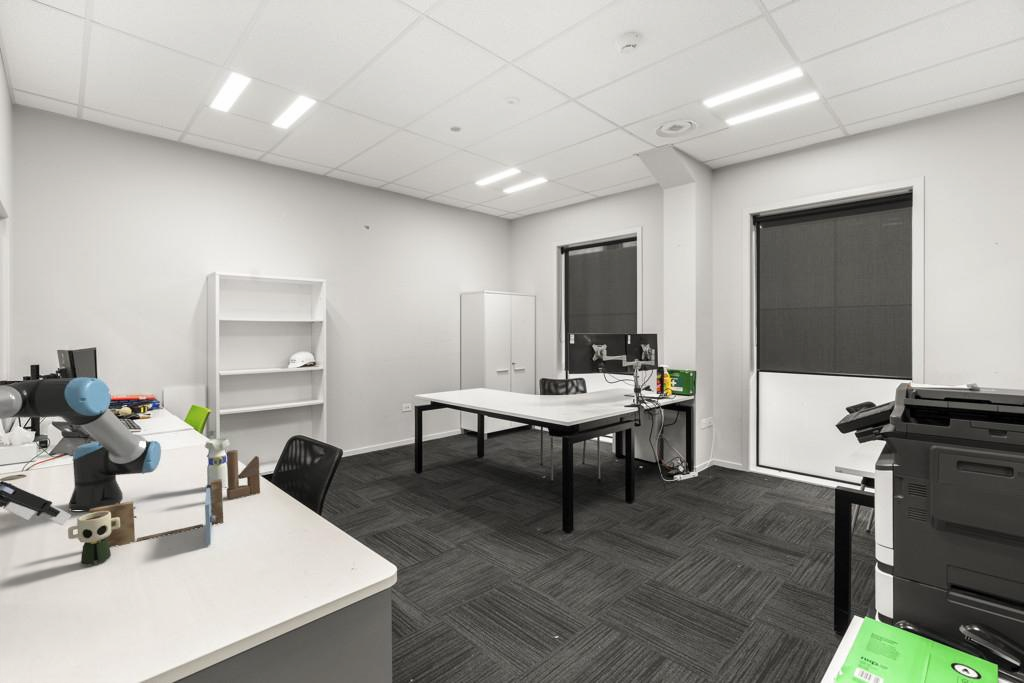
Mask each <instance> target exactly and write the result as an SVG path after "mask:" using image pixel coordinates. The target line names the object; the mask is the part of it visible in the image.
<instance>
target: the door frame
mask: <svg viewBox="0 0 1024 683" xmlns="http://www.w3.org/2000/svg"><path fill="white" fill-rule="evenodd" d="M205 487H206V489H207V488H210V495H211V516H214V515H215V522H212V526H214V524H215V525H219V524H218V523H220V524H223V523H224V504H223V503H224V500H223V489H222V480H221V479H219V480H213V481H211V485H207V484H206V485H205ZM206 489H205V490H206ZM134 506H135V505H134V501H133V500H132V501H127V502H126V501H125V502H120V504H118V503H117V504H114V505H109V506H103V507H98V508H92V509H90V510H89V511H88V514H89V513H94V512H100V511H109V512H111V518H116V517H119V518H120V528H118V529H114V530H112V532H111V534H110V535H109V536H108V537H106V539H107V540H108V543H109V547H110V548H112V547H111V546H114V547H117V546H116V545H119V546H122V545H121V544H123V545H127V544H126V543H128V544H131V543H130V542H133V543H135V541H136V542H137V541H138V542H142V541H141V540H143V541H147V540H151V539H150V538H152V539H155V538H154V537H156V538H159V537H158V536H161V537H164V536H163V535H165V536H168V534H170V535H174V534H178V533H177V532H179V533H183V532H182V531H184V532H187V530H188V531H192V530H191V529H193V530H196V529H195V528H197V529H201V528H200V527H202V528H204V525H203V523H201V524H195V525H191V526H187V527H186V526H185V527H183V528H182V527H181V528H179V529H173V530H167V531H163V532H159V533H154V534H149V535H143V536H140V537H136V535H135V534H136V530H135V518H134V516H135V513H134V512H135V509H134ZM222 522H223V523H222ZM112 526H116V521H113V522H111V527H112ZM173 533H174V534H173ZM146 539H147V540H146Z"/></svg>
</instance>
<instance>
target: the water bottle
mask: <svg viewBox="0 0 1024 683" xmlns="http://www.w3.org/2000/svg"><path fill="white" fill-rule="evenodd" d="M216 432H217V430H213V428H211V429H210V430H207V431H206V433H208V437H209V438H210V437H211V436H212V437H215V433H216ZM229 446H230V441H229V439H228V438H227V437H221V438H220V437H219V438H218V437H217V438H212V439H209V440H206V443H205V445H204V448H205V449H206V450H207V449H208V453H207V455H206V457H207V461H208V462H207V463H208V464H207V466H206V468H207V470H206V472H207V479H206V480H207V484H206V485H211V481H213V480H219V479H221V480H222V488H225V487H227V488H228V474H227V451H226V448H227V447H229ZM225 489H226V488H225Z"/></svg>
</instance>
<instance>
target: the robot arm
mask: <svg viewBox="0 0 1024 683" xmlns="http://www.w3.org/2000/svg"><path fill="white" fill-rule="evenodd" d="M111 399H112V398H111V393H110V388H109V387H108V385H107V384H106V383H105V382H104V381H103V380H102V379H99V378H96V377H85V376H81V377H67V378H65V377H64V378H41V379H39V378H38V379H32V380H26V381H25V380H24V381H20V382H15V383H9V384H3V385H0V420H4V419H5V420H6V419H10V418H54V417H56V418H58V417H59V418H62V419H63V421H65V422H66V423H68V424H69V425H72V426H75V427H76V426H77V427H79V426H80V427H81V428H82V429H83V431H85V432H87V433H88V434H89V435H90V436H91V437H92V438H93V439H94V440H95V441H93V442H87V443H84V444H81V445H78V446H76V447H75V448H74V449H73V454H72V455H73V456H72V463H73V480H74V488H73V491H72V494H71V497H70V499H69V502H68V509H69V508H70V509H71V510H90V509H92V508H98V507H103V506H109V505H113V504H116V503H117V504H118V502H120V503H121V502H122V501H123V500H122V499H124V497H123V491H122V490H121V488H120V486H119V484H118V481H117V477H116V476H121V475H122V476H123V475H134V474H135V475H136V474H137V475H138V474H142V475H143V474H148V473H153V472H154V471H156V469H157V468H158V466H159V464H160V461H161V456H162V448H161V447H162V446H161V443H160V442H159V441H157V440H155V441H154V440H150V441H148V440H146V438H145V437H143V436H142V435H140V434H136V433H135V434H134V433H133V432H132V431H131V430H130V429H129V428H128V427H127V426H126V425H125V423H123V422H122V421H121V420H120V419H119V418H118V417H117V416H116V414H114V413H113V411H112V410H111V409H109V407H110V404H111ZM121 500H122V501H121ZM0 508H2V509H3V510H6V511H7V512H10V513H12V514H14V515H16V516H18V517H20V518H22V519H24V520H26V521H29V520H30V519H32V518H31V517H33V516H34V515H36V516H37V517H39V516H42V517H44V518H46V519H48V520H49V521H52V522H54V523H56V524H58V525H60V526H64V525H65V524H66V522H67V521H68V520H69V519H70V518H71V516H72V514H70V513H68V512H67V511H65V510H63V509H61V508H59V507H57V506H55V505H53V502H52V501H51V500H47V499H45V498H42V497H40V496H38V495H35V494H34V493H31V492H30V491H27V490H24V489H22V488H20V487H17V486H15V485H13V484H12V483H9V482H6V481H3V480H1V481H0ZM36 512H37V513H36ZM35 513H36V514H35Z"/></svg>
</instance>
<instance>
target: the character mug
mask: <svg viewBox="0 0 1024 683" xmlns="http://www.w3.org/2000/svg"><path fill="white" fill-rule="evenodd" d="M76 520H77V521H76V522H77V523H76V525H73V526H70V527H68V529H67V536H68V537H67V538H68V539H69V540H72V539H78V541H79V542H80V543H83V546H82V549H81V557H80V559H81V560H80V563H81V565H82V566H92V565H94V564H95V562H97V563H98V564H99V563H100V564H101V563H103V562H106V561H107V560H109V559H110V557H111V556H112V552H111V547H109V543H108V540H107V539H106V537H108V536H109V535H110V534H111V532H112V530H114V529H118V528H120V518H119V517H116V518H111V512H109V511H100V512H94V513H89V512H88V513H86V514H84V515H82V516H79V517H78V518H77V519H76ZM113 521H116V526H112V527H111V522H113ZM74 530H77V533H75V534H74Z"/></svg>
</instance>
